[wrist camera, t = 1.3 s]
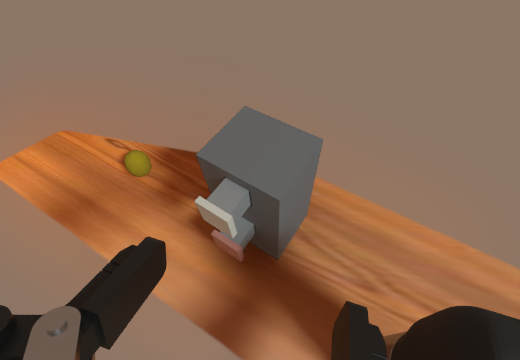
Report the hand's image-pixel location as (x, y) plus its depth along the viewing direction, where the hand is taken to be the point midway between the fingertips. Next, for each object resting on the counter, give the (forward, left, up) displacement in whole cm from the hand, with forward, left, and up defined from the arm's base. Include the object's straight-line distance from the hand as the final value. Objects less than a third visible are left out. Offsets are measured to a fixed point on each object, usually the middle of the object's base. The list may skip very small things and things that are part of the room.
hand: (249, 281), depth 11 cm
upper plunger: (+17, -1, -24) cm, 30 cm away
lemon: (+43, +19, -41) cm, 63 cm away
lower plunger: (+17, -1, -35) cm, 39 cm away
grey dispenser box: (+22, -6, -41) cm, 47 cm away
